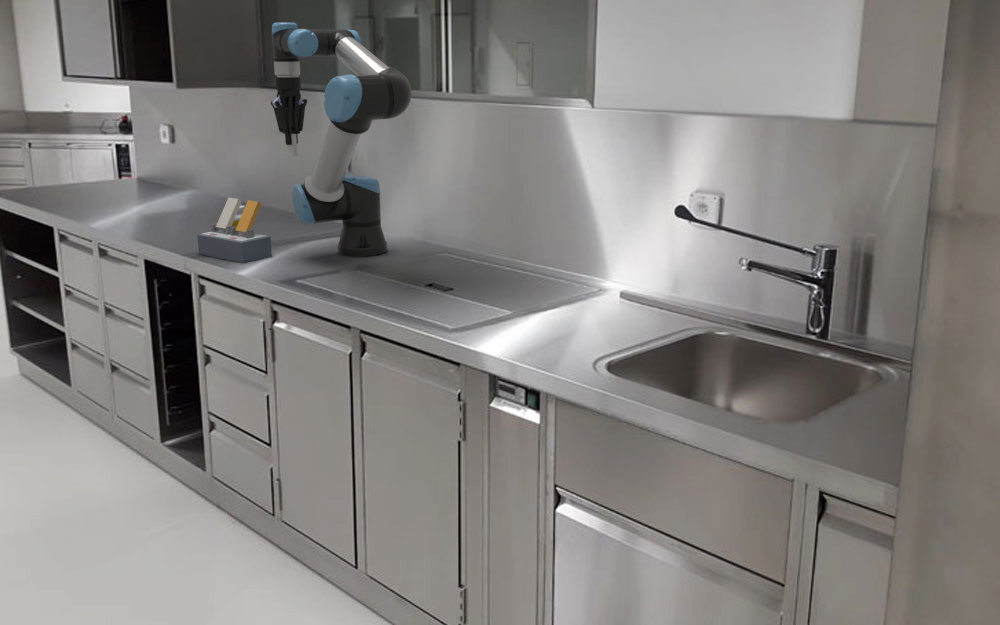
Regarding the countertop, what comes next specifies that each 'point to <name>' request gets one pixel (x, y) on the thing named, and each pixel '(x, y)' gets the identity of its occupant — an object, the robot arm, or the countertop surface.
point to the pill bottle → (238, 216)
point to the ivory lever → (228, 214)
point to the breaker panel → (234, 245)
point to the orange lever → (248, 217)
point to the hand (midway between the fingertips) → (292, 155)
